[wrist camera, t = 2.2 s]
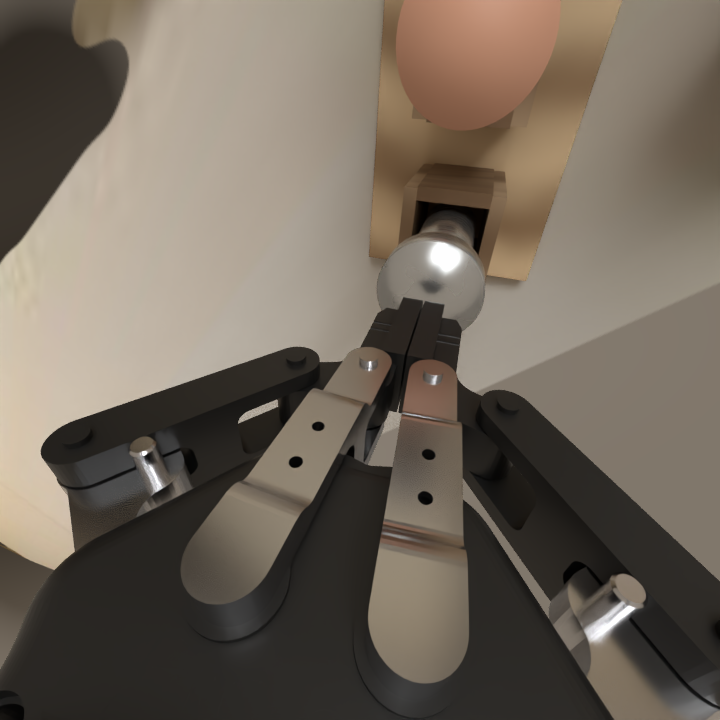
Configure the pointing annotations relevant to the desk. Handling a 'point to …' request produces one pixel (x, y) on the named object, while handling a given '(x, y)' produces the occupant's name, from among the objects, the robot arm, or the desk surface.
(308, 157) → the desk surface
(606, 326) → the desk surface
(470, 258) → the plug grey
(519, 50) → the plug terracotta
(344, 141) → the desk surface
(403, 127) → the socket board
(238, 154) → the desk surface
